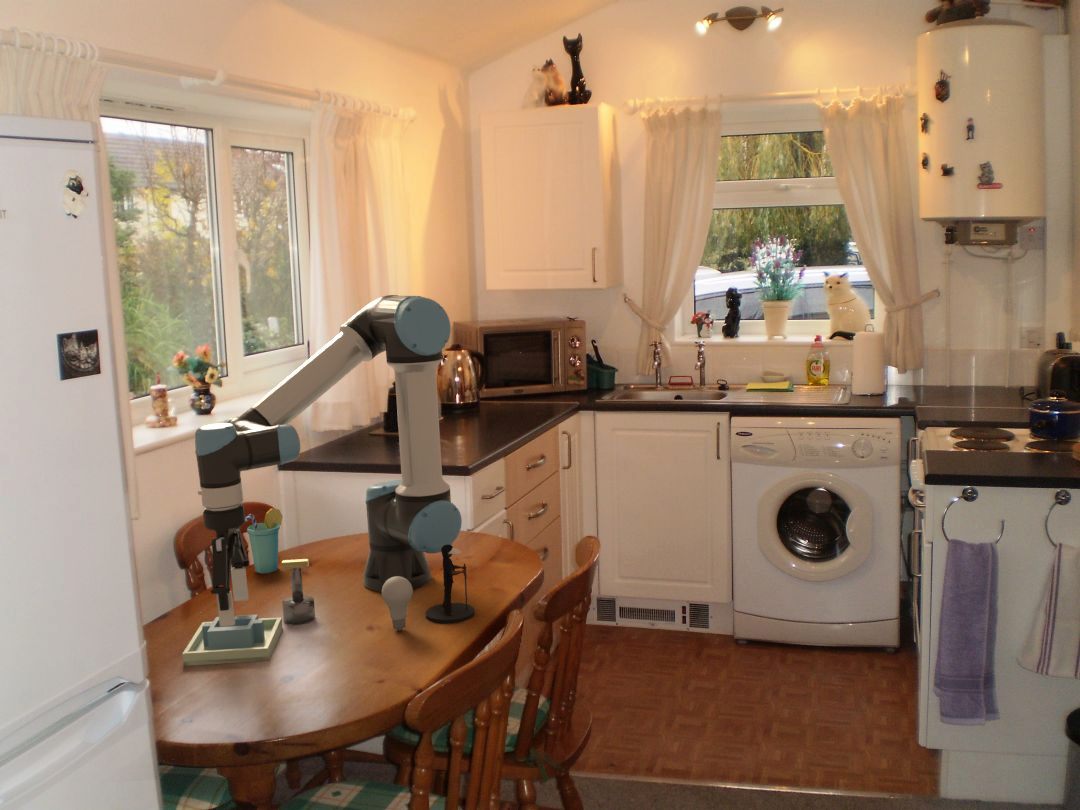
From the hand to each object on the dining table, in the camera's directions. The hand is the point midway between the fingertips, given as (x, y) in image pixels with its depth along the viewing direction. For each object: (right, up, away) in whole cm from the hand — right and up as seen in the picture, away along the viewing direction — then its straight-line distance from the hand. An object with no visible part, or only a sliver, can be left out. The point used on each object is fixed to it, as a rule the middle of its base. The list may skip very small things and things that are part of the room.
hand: (234, 612), depth 212 cm
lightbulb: (+31, -5, +6) cm, 32 cm away
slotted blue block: (0, -6, +1) cm, 6 cm away
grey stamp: (+9, -4, +15) cm, 18 cm away
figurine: (+40, -3, +14) cm, 43 cm away
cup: (-6, 0, +48) cm, 49 cm away
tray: (0, -7, +1) cm, 7 cm away
